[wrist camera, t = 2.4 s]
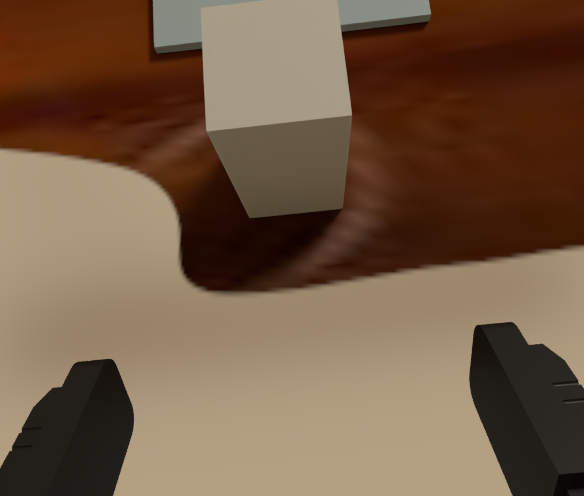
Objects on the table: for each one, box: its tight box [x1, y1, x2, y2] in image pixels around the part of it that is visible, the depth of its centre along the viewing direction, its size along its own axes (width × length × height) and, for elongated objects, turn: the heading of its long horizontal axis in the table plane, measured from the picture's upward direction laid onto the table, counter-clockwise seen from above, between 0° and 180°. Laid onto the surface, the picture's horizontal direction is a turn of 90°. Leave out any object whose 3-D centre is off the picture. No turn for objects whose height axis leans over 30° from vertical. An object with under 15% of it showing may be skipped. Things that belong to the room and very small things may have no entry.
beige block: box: [200, 0, 352, 218], centre depth 23 cm, size 5×5×10 cm
